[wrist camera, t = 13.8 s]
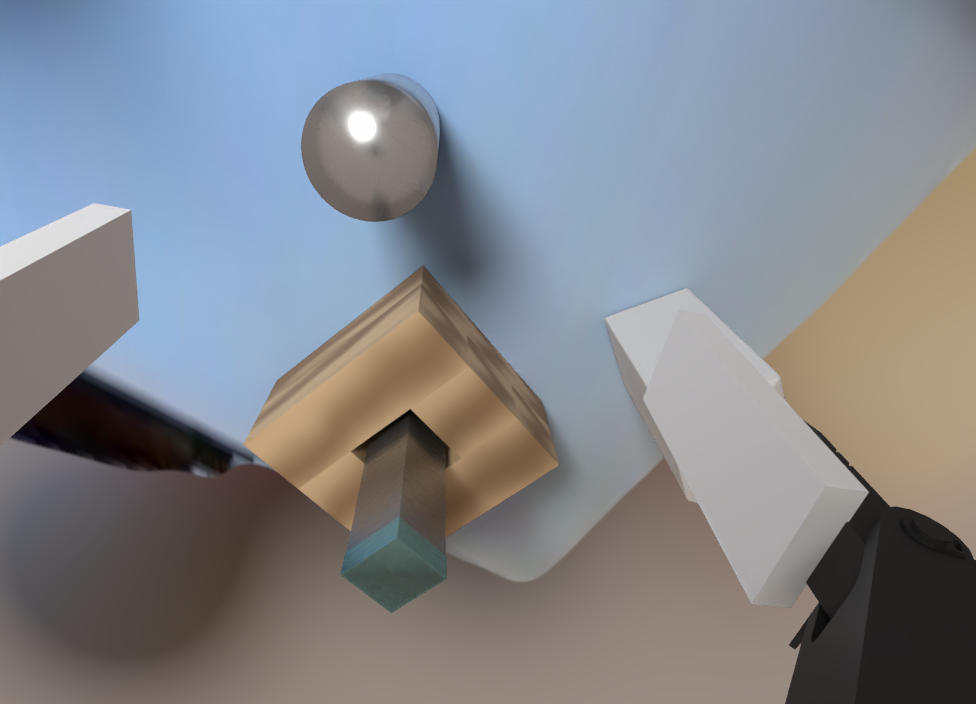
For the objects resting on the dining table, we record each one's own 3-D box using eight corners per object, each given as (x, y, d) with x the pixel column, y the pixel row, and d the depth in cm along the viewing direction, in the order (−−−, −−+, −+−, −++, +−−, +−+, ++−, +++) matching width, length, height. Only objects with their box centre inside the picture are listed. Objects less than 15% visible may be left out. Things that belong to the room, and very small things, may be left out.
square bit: (373, 414, 46) (340, 574, 32) (412, 385, 45) (397, 537, 31) (407, 446, 47) (391, 613, 33) (446, 419, 47) (446, 578, 32)
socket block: (276, 380, 48) (243, 444, 40) (423, 265, 45) (418, 310, 37) (404, 493, 55) (397, 568, 47) (541, 401, 51) (559, 465, 43)
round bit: (326, 116, 40) (272, 142, 27) (397, 51, 38) (374, 48, 26) (390, 191, 42) (366, 246, 30) (458, 133, 41) (464, 166, 28)
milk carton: (624, 385, 51) (712, 547, 34) (602, 316, 48) (689, 457, 31) (702, 358, 50) (833, 510, 33) (686, 286, 47) (822, 413, 30)
